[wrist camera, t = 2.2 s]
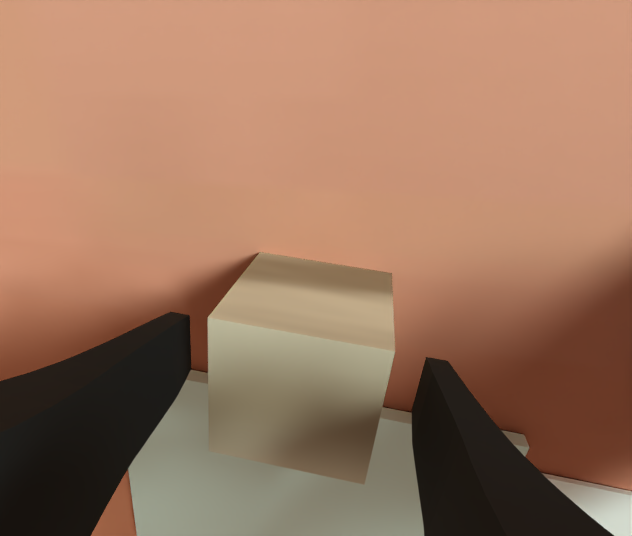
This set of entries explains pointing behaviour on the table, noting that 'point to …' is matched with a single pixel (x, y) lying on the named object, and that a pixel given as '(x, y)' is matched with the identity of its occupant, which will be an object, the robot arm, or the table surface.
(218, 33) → the table surface
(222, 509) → the plate
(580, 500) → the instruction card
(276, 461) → the beech block
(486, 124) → the table surface
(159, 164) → the table surface
